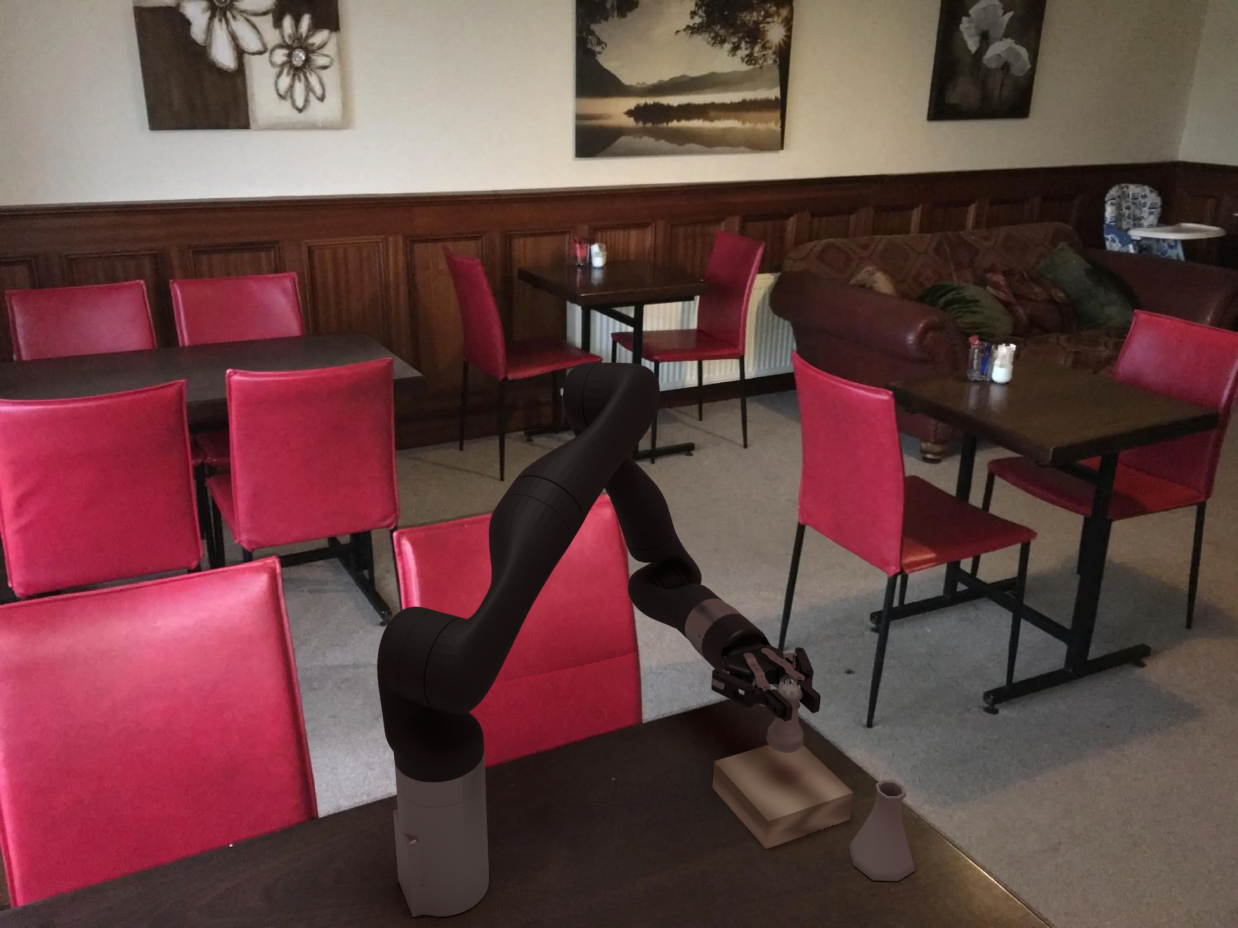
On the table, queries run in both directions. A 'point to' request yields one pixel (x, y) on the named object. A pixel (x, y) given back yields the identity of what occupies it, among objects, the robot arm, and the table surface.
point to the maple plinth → (781, 793)
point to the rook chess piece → (787, 722)
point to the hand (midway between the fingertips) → (803, 709)
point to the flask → (883, 837)
